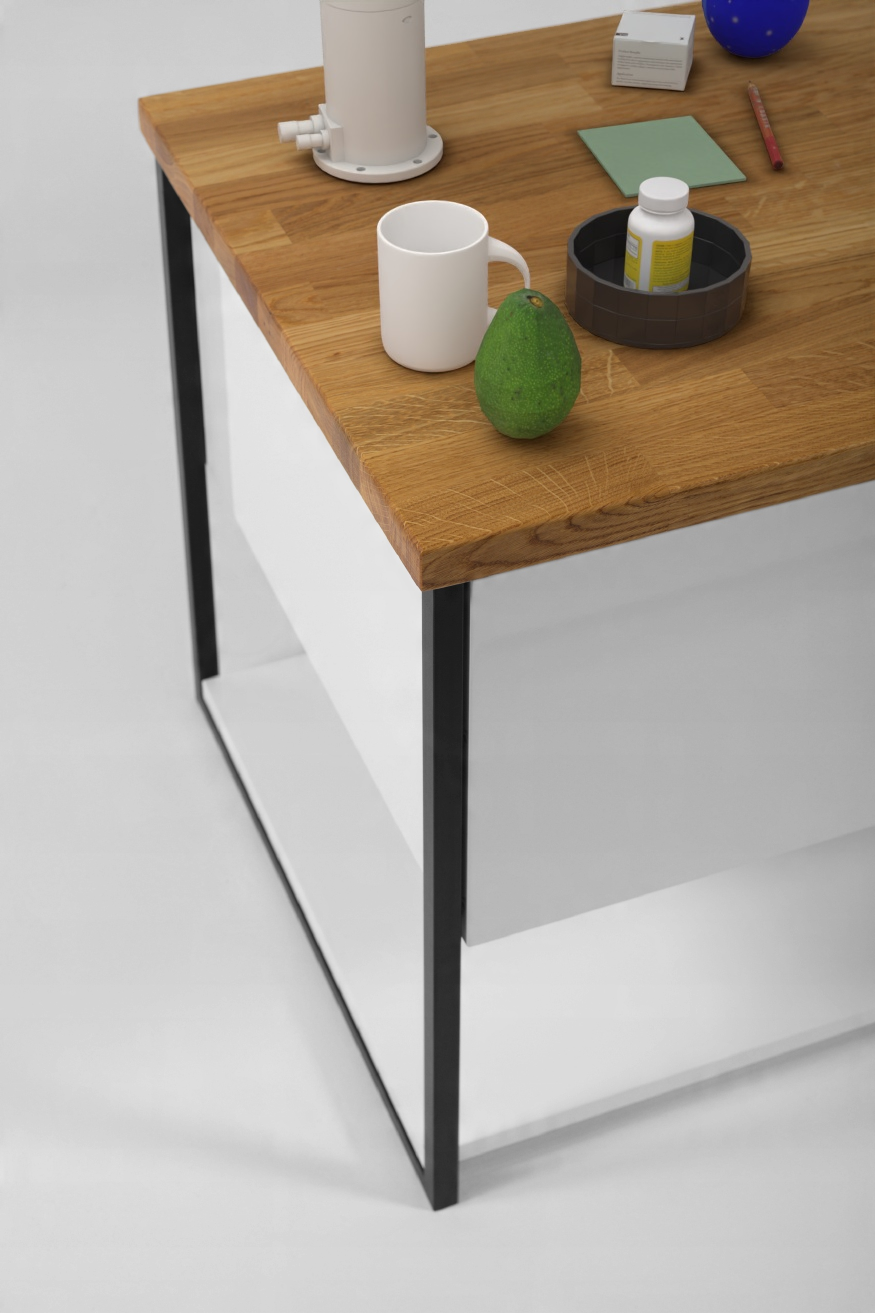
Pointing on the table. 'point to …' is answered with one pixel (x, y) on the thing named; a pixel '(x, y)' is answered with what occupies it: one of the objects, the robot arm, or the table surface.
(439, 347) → the mug
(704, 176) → the cloth
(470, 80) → the table surface
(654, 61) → the small box
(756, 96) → the pencil
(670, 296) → the pan
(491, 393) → the avocado
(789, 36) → the ornament
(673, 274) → the supplement bottle
